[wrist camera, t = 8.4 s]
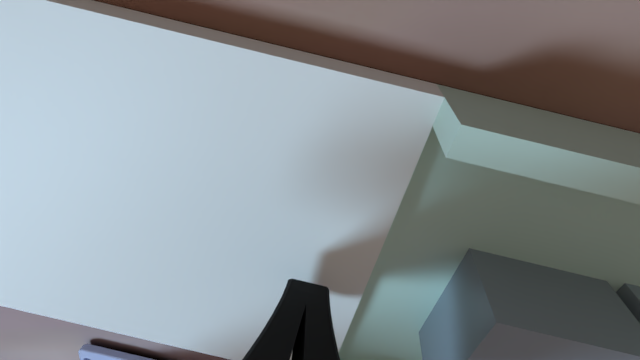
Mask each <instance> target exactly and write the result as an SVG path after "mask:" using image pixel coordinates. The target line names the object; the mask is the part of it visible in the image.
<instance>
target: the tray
mask: <svg viewBox="0 0 640 360" xmlns="http://www.w3.org/2000/svg"><path fill="white" fill-rule="evenodd" d="M437 86H438V87H439V89H440V91H441V92H442V94H443V96H444V100H443V102H442V105H441V107H440V109H439V112H438V114H437V117H436V119H435V122H434V124H433V126H432V129H431V131H430V134H429V136H428V138H427V141H426V143H425V146H424V148H423V150H422V153H421V155H420V158H419V160H418V162H417V165H416V167H415V170H414V172H413V174H412V177H411V179H410V182H409V184H408V187H407V189H406V191H405V194H404V196H403V199H402V201H401V203H400V206H399V208H398V211H397V213H396V215H395V218H394V220H393V223H392V225H391V227H390V230H389V232H388V235H387V237H386V239H385V242H384V244H383V247H382V249H381V252H380V254H379V256H378V259H377V261H376V264H375V266H374V268H373V271H372V273H371V276H370V278H369V280H368V283H367V285H366V288H365V290H364V292H363V295H362V297H361V300H360V302H359V305H358V307H357V309H356V312H355V314H354V317H353V319H352V321H351V324H350V326H349V329H348V331H347V333H346V336H345V338H344V341H343V343H342V345H341V348H340V350H339V357H340V360H422V353H421V346H420V339H419V331H420V329H421V327H422V326H423V324H424V322H425V321H426V319H427V317H428V316H429V314H430V312H431V311H432V309H433V307H434V306H435V304H436V302H437V301H438V299H439V298H440V296H441V294H442V293H443V291H444V289H445V288H446V286H447V284H448V283H449V281H450V279H451V278H452V276H453V274H454V273H455V271H456V269H457V268H458V266H459V264H460V263H461V261H462V259H463V258H464V256H465V254H466V253H467V251H468V249H469V248H471V249H475V250H479V251H483V252H487V253H492V254H496V255H500V256H504V257H508V258H513V259H517V260H521V261H525V262H529V263H534V264H538V265H542V266H546V267H550V268H554V269H559V270H563V271H567V272H571V273H575V274H580V275H584V276H588V277H592V278H596V279H601V280H605V281H607V282H608V283H609V284H610V286H611V287H612V288H613V289H614V291H615V292H616V291H617V290H618V289H619V288H620V287H621V286H622V285H623V284H624V283H627V284H631V285H636V286H640V134H639V133H635V132H631V131H627V130H623V129H619V128H615V127H611V126H607V125H603V124H598V123H594V122H590V121H586V120H582V119H578V118H574V117H570V116H566V115H562V114H557V113H553V112H549V111H545V110H541V109H537V108H533V107H529V106H525V105H520V104H516V103H512V102H508V101H504V100H500V99H496V98H492V97H488V96H484V95H479V94H475V93H471V92H467V91H463V90H459V89H455V88H451V87H447V86H443V85H438V84H437Z"/></svg>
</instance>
